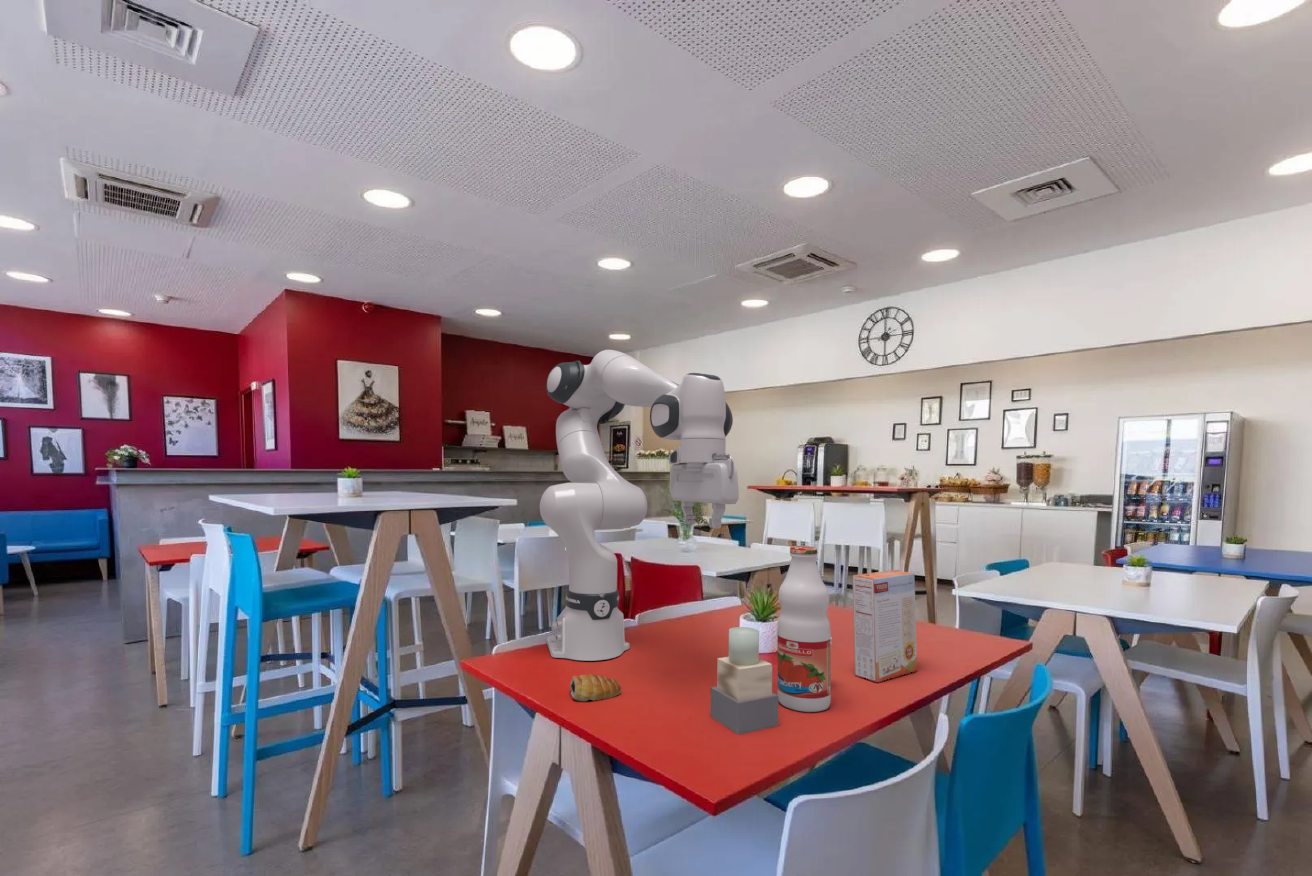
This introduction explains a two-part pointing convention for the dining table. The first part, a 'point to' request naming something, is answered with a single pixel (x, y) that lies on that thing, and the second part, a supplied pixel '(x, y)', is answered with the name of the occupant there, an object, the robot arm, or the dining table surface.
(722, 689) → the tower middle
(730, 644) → the grey round cylinder
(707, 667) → the dining table surface
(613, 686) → the pastry
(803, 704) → the fruit juice
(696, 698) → the dining table surface
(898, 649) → the cracker box
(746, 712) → the tower base
